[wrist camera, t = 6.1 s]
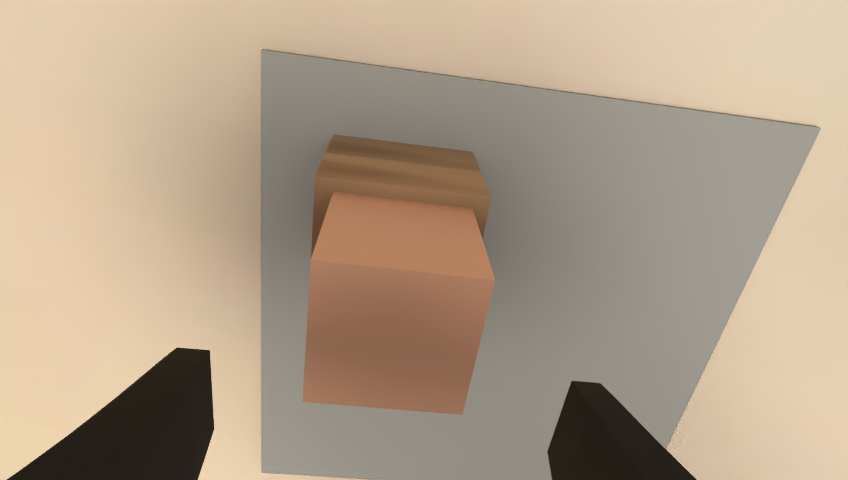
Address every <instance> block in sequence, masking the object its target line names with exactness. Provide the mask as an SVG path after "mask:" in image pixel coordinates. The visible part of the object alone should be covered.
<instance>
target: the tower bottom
mask: <svg viewBox="0 0 848 480" xmlns="http://www.w3.org/2000/svg"><path fill="white" fill-rule="evenodd" d="M326 153H332V154H340V155H349V156H357V157H365V158H373V159H382V160H390V161H398V162H406V163H414V164H423V165H431V166H439V167H447V168H456V169H464V170H472V171H480V172H481V170H480V168H479V166H478V163H477V161H476V159H475V156H474V154H473V152H470V151H462V150H454V149H446V148H438V147H430V146H422V145H414V144H406V143H398V142H390V141H382V140H374V139H366V138H358V137H350V136H342V135H333V137H332V139H331V142H330V144H329V146H328V148H327V150H326Z"/></svg>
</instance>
